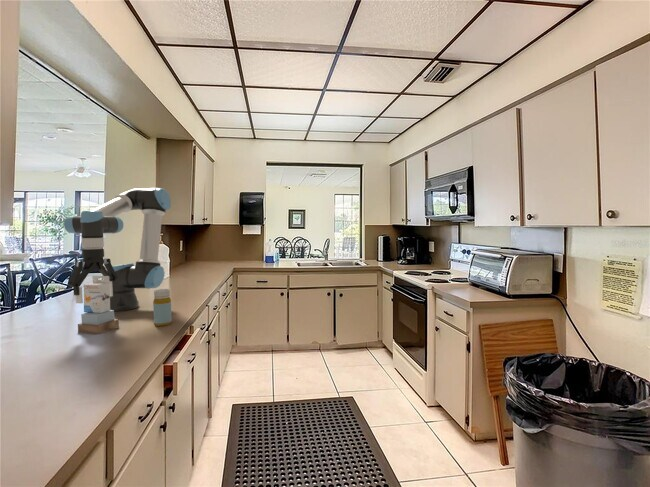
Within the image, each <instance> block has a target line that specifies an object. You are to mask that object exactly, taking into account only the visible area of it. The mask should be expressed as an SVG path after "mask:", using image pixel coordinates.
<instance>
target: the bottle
mask: <svg viewBox="0 0 650 487" xmlns="http://www.w3.org/2000/svg"><path fill="white" fill-rule="evenodd" d="M170 294H171V290H170V289H169V288H160V289H155V290H154V291H153V298H154V299H153V305H152V306H153V308H152V309H153V324H154V325H155V326H156V327H163V326H164V327H165V326H169V325H170V324H172V299H171V295H170Z"/></svg>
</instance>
